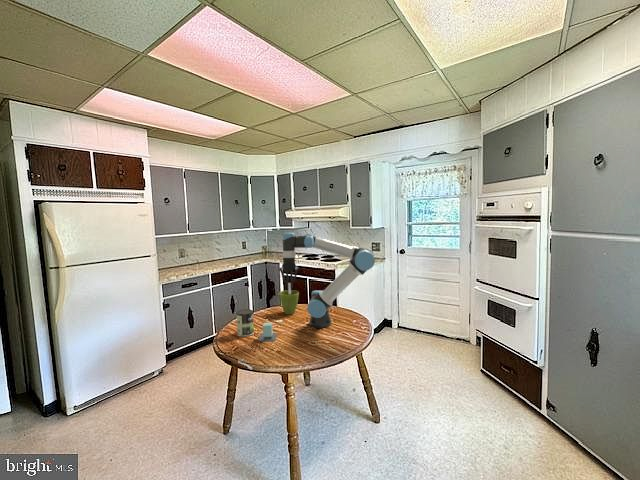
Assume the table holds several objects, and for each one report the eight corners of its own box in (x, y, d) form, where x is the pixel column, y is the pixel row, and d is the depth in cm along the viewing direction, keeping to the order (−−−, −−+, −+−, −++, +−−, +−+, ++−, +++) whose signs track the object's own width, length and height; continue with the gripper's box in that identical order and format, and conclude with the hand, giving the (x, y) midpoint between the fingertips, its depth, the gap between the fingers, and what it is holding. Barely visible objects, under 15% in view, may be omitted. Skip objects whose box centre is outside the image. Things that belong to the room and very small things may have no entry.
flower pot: (275, 313, 227) (275, 292, 226) (289, 308, 239) (289, 289, 237) (289, 317, 218) (288, 296, 216) (303, 312, 229) (303, 292, 228)
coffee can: (256, 330, 193) (255, 309, 192) (249, 337, 183) (248, 314, 182) (241, 329, 195) (241, 308, 194) (234, 336, 185) (233, 313, 184)
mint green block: (272, 333, 184) (272, 322, 184) (271, 336, 179) (271, 325, 179) (264, 333, 184) (263, 322, 184) (262, 336, 179) (262, 325, 178)
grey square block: (277, 334, 187) (276, 322, 186) (275, 340, 177) (275, 328, 176) (260, 334, 187) (260, 322, 186) (258, 341, 177) (258, 328, 176)
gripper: (299, 256, 194) (300, 291, 195) (279, 256, 193) (280, 292, 195) (299, 257, 186) (299, 294, 188) (278, 258, 185) (279, 295, 187)
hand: (289, 293), depth 191 cm, fingers closed
